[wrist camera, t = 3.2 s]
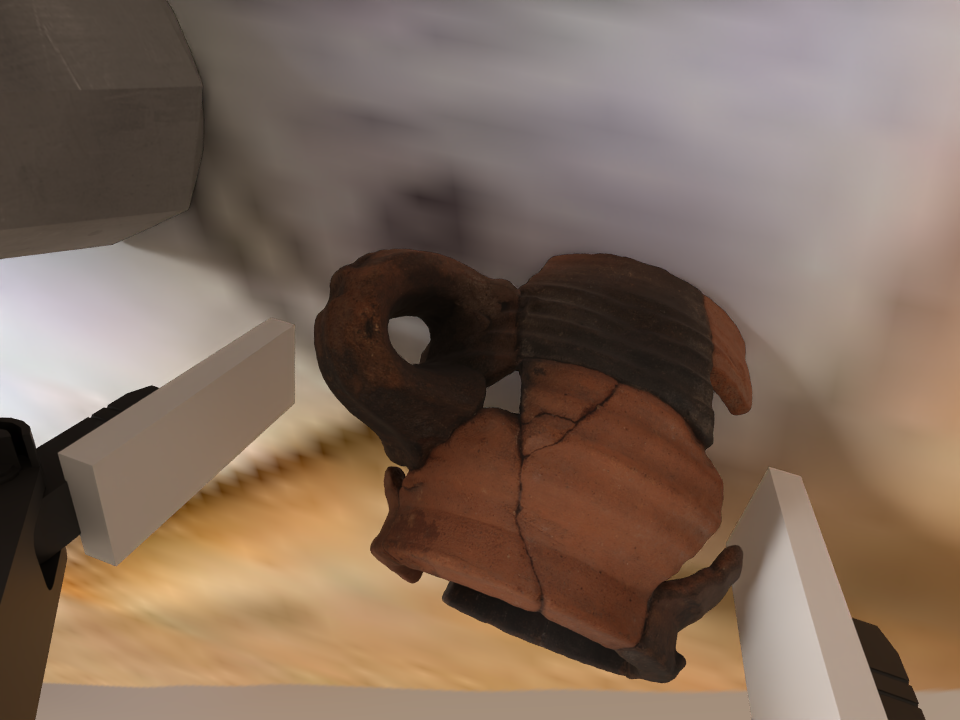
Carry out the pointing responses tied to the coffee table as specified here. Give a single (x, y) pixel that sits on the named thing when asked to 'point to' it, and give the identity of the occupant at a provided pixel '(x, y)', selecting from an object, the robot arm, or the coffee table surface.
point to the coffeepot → (94, 122)
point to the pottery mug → (547, 444)
